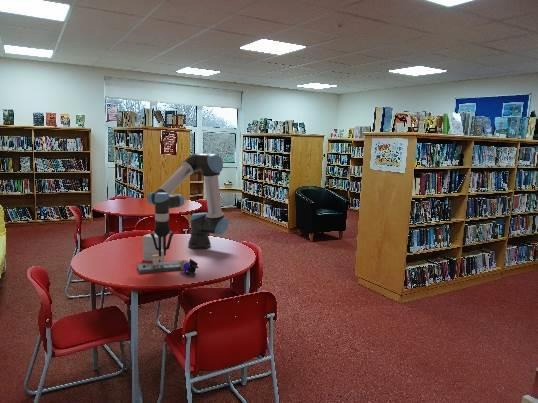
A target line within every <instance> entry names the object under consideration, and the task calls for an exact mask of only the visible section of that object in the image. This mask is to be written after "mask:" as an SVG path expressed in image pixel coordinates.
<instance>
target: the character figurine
mask: <svg viewBox="0 0 538 403" xmlns="http://www.w3.org/2000/svg"><path fill="white" fill-rule="evenodd" d="M181 260H182V259H181ZM186 260H187V259H183V260H182V261H181V262H180V264H179V266H180V268H181V269H183V270H182V271H184V275H189V276H196V275H197V273H196V270H197V269H199V266H198V262H196V261H195V260H193V259H192V258H190V259H189V260H188V261H186ZM188 262H189V263H188Z"/></svg>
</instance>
